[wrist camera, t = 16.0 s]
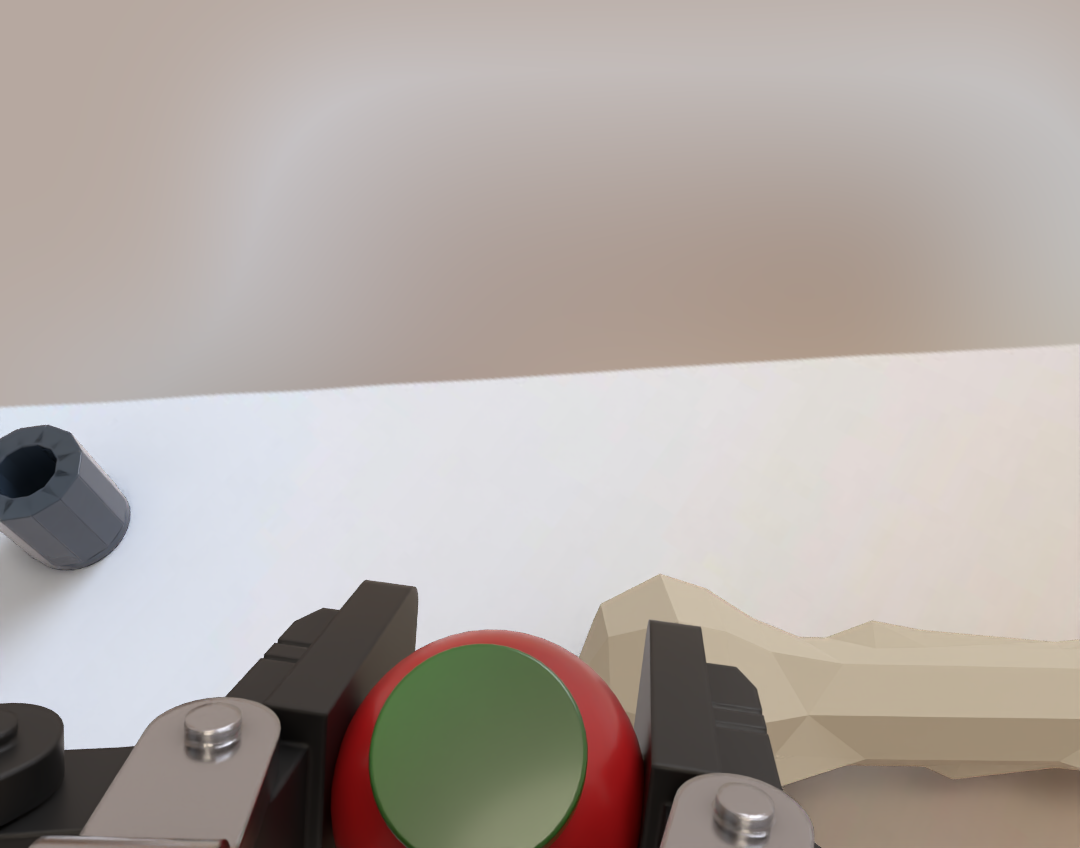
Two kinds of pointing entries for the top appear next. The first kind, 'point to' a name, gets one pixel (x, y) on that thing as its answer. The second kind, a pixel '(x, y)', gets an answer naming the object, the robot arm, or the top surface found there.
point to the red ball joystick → (489, 752)
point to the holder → (58, 499)
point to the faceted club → (866, 687)
